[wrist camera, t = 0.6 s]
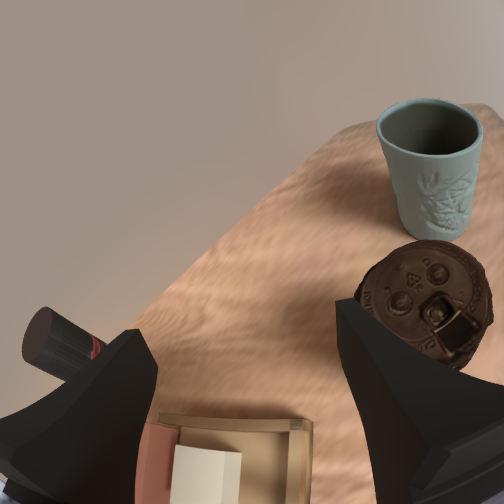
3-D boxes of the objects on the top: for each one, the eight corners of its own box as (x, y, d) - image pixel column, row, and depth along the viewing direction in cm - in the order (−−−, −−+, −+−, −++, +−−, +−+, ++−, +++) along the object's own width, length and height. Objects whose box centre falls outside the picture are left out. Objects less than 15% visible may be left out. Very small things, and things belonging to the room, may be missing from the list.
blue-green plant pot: (480, 248, 24) (498, 155, 16) (391, 252, 29) (378, 160, 21) (463, 181, 30) (463, 95, 21) (389, 185, 35) (372, 101, 26)
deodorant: (159, 364, 33) (59, 305, 23) (150, 411, 30) (38, 365, 19) (127, 362, 36) (34, 307, 25) (117, 404, 32) (16, 359, 21)
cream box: (237, 511, 19) (219, 516, 17) (189, 501, 20) (169, 503, 18) (241, 452, 22) (225, 451, 20) (194, 447, 24) (175, 444, 22)
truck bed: (306, 543, 15) (293, 555, 13) (170, 518, 21) (147, 520, 18) (313, 422, 23) (302, 418, 20) (180, 418, 28) (159, 412, 25)
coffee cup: (452, 413, 18) (504, 381, 9) (358, 410, 22) (330, 379, 13) (458, 318, 22) (487, 223, 13) (373, 318, 26) (353, 228, 17)
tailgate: (178, 509, 21) (140, 512, 17) (170, 507, 21) (132, 509, 17) (186, 431, 27) (150, 423, 23) (178, 430, 27) (143, 421, 23)
